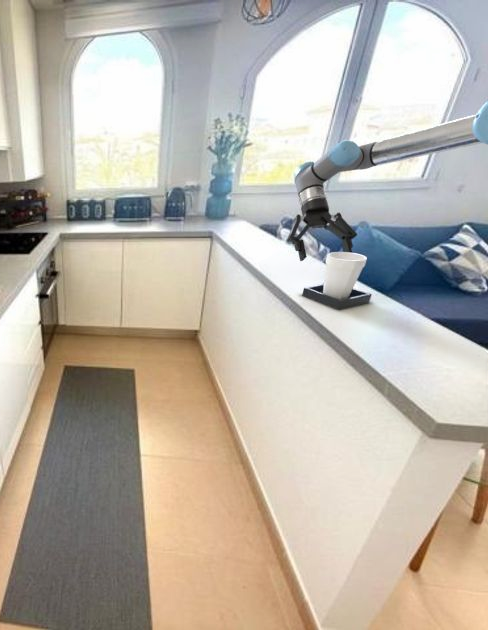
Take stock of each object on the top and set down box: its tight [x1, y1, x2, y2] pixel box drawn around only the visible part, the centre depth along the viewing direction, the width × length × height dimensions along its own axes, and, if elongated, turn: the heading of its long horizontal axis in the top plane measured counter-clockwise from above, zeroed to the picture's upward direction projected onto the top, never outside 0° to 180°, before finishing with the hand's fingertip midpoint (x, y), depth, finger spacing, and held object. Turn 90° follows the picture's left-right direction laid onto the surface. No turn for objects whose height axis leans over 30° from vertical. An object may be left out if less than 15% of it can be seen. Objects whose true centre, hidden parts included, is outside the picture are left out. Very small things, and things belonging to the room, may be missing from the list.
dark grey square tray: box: [301, 283, 373, 311], centre depth 107 cm, size 12×12×3 cm
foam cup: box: [323, 251, 368, 300], centre depth 104 cm, size 10×9×13 cm
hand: (326, 258), depth 112 cm, fingers open, 13 cm apart
